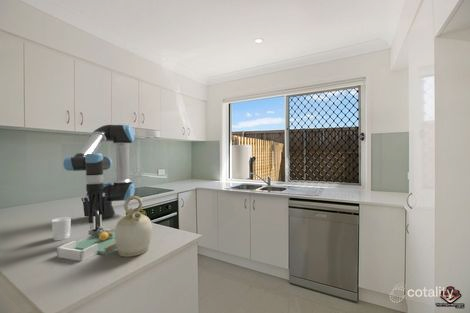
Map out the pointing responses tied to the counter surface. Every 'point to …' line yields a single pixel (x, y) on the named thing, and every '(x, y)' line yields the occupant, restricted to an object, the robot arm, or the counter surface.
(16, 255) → the counter surface
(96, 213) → the black lever handle
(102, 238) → the ball
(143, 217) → the jug
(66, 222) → the white cup
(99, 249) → the pitch
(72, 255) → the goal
